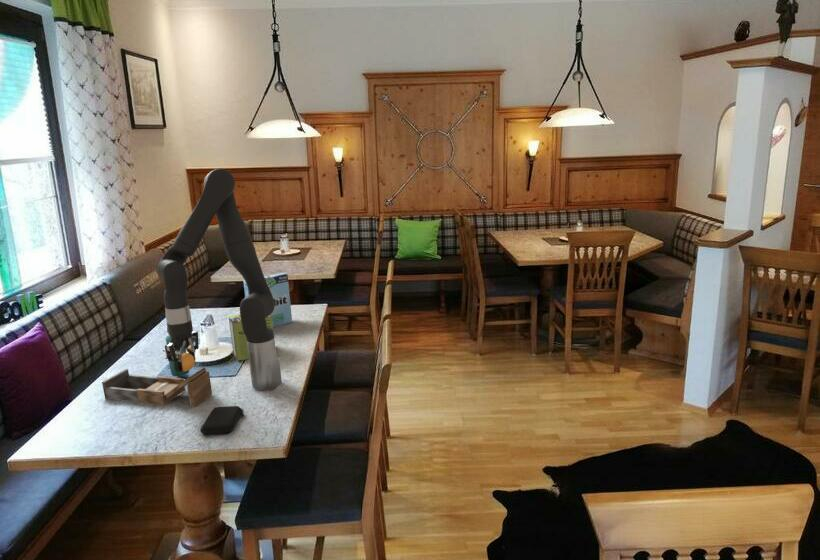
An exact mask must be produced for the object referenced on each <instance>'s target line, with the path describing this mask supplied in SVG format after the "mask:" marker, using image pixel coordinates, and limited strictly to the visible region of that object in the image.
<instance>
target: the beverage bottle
mask: <svg viewBox="0 0 820 560" xmlns="http://www.w3.org/2000/svg"><path fill="white" fill-rule="evenodd" d="M166 329H167V331H166V332H167V333H168V328H167V327H166ZM170 343H171V336H170V335H169V334H168V335H167V336H166V337H165V345H169V344H170ZM176 351H177V352H179V351H180V350H176ZM183 353H187V350H186V349H184V352H183ZM171 357H172V356H171ZM177 357H178V354H177V356H176V358H177ZM168 363H169V371H170V373H171V377H174V378H180V377H184V376H186V375H188V374H189V373H190V370H188V371H182V372H176V370H175V366H174V362H169V361H168Z"/></svg>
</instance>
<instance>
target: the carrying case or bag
mask: <svg viewBox="0 0 820 560" xmlns="http://www.w3.org/2000/svg"><path fill="white" fill-rule="evenodd" d="M208 414H209V415H208V416H207V418H206V419H205V421H204V422H203V424H202V426H201V427H200V429H199V431H200V433H201V434H202V435H204V436H216V435H227V434H228V435H229V434H230V433H231V432H232V431H234V429H235V427H236V426H237V423H238V421H239V419H240V418H241V416H242V417H244V414H245V413H244V409H242V408H241V407H240V406H238V405H232V406H231V405H230V406H229V405H228V406H215V407H214V408H213V409H211V411H210V413H208Z"/></svg>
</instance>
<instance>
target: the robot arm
mask: <svg viewBox="0 0 820 560" xmlns="http://www.w3.org/2000/svg"><path fill="white" fill-rule="evenodd" d="M235 188H236V181H235V178H234V175H233V174H232V173H231V172H230V171H228V170H227V169H223V168H216V169H213V170H210V171H209V173H207V175H206V176H205V177H204V179H203V190H202V193H201V196H200V197H199V199H198V201H197V203H196V206H195V207H194V209H193V210H192V211H191V213H190V215H189V216H188V218H187V219H186V220H185V221H184V224H183V225H182V227H181V229H180V230H179V232H178V234H177V236H176V238H175V239H174V242H172V245H171V246H170V247H169V248H168V249H167V251H166V252H165V253H164V254H163V256H162V257H161V258H160V261H159V262H158V265H157V274H158V275H159V277H161V278H162V279H163V280H164V281H163V282H164V287H165V289H164V291H163V302H164V309H165V320H166V326H167V327H166V329H167V328H168V332H167V334H168V335H170V336H171V343H170V344H169V345H167V344H165V345H164V349H165V351H166V354H167V358H168V359H167V361H168V363H169V362H174V366H175V370H176V372H182V371H183V368H182V361H181V356H182V354H183V352H184V349H186V353H189V354H191V355H192V356H193V357H194V359H195V361H196V354H195V353H196V351H197V350H198V349H199V348H200V346H199V332H198V331H194V329H193V320H192V313H191V309H190V305H189V298H188V293H187V292H188V291H187V290H188V288H187V287H188V273H187V269H186V267H185V265H184V264H185V263H186V261H187V259H188V258H190V257H192V256H193V255H195V253H196V252H197V250H198V247H199V245H200V244H201V242H202V241H203V239H204V237H205V235H206V232H207V230H208V228H209V226H210V225H211V222H212V220H213V219H214V217H215V216H216V220H217V224H218V229H219V233H220V236H221V240H222V244H223V246H224V250H225V252H226V256H227V258H228V260H229V262H230V264H231V265H232V266H233V268H234V269H236V271H237V272H238V273H239V274H240V275H241V276H242V278H243V279H244V280H245V282H246V284H247V287H248V290H249V294H250V295H249V296H247V297H245V296H244V298H242V300H241V301H240V303H239V315H240V317H241V322H242V328H243V332H244V334H245V336H246V339H247V347H248V355H249V359H248V362H249V368H250V369H249V371H250V377H251V378H250V379H251V385H252V389H254V390H255V391H267V390H275V389H276V388H277V387H278V386H279V385H280V384H281V383H282V381H283V380H282V371H281V364H280V357H278V356H277V349H276V348H277V347H276V340H275V330H274V331H273V329H274V328H273V329H272V328H270V327H267V324H266V317H267V316H269V315H270V314H271V313H272V312H273V311H274V308H275V302H274V298H273V296H272V293H271V291H270V289H269V287H268V284H267V282H266V280H265V277H264V276H265V275H264V272H263V269H262V266H261V263H260V260H259V257H258V254H257V251H256V248H255V247H256V246H255V245H254V242H253V239H252V234H251V233H250V231H249V228H248V226H247V224H246V223H245V221H244V219H243V217H242V215H241V214H240V211H239V209H238V206H237V201H236V198H235V193H234V191H235ZM275 347H276V348H275ZM176 350H180V351H179V352H177V351H176ZM165 351H164V352H165ZM166 354H165V355H166ZM177 354H178V358H176V356H177ZM171 356H172V357H171Z"/></svg>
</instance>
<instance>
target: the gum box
mask: <svg viewBox="0 0 820 560" xmlns="http://www.w3.org/2000/svg"><path fill="white" fill-rule="evenodd" d="M264 277H265V280H266V282H267V284H268V287H269V289H270V291H271V293H272V296H273V298H274V302H275V308H274V311H273V312H272V313H271V314H270V315H271V316H272V320H273V328H274V327H277V326H282V325H286V324H290V323H291V324H292V323H293V315H292V307H291V306H292V305H291V298H290V285H289V275H288V273H286V272H280V273H274V274H271V275H264ZM243 288H244V290H243V291H244V298H245V297H247V296H249V295H250V294H249V290H248V287H247V284H246V282H245V280H243Z"/></svg>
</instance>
